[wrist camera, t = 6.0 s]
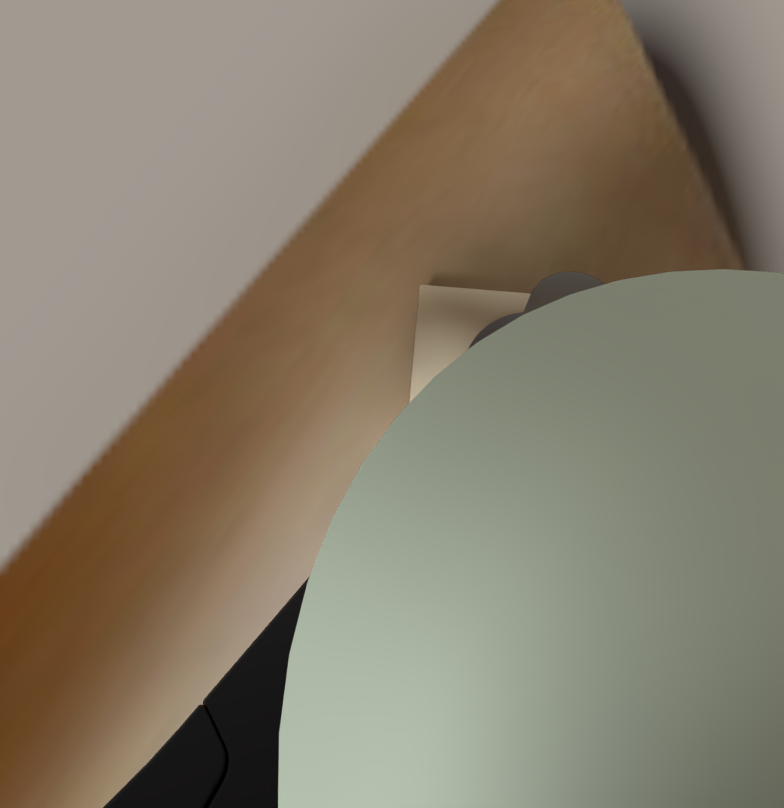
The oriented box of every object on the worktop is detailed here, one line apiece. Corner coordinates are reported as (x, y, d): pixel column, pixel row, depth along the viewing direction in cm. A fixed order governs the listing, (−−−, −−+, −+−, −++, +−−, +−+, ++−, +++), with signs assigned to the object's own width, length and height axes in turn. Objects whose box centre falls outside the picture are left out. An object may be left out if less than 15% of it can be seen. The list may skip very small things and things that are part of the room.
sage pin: (586, 714, 14) (1857, 1177, 2) (415, 797, 13) (651, 2308, 1) (504, 540, 15) (905, 173, 3) (346, 606, 15) (156, 444, 3)
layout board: (688, 871, 18) (830, 982, 12) (371, 836, 19) (361, 926, 13) (644, 318, 26) (720, 221, 20) (418, 299, 26) (427, 199, 20)
